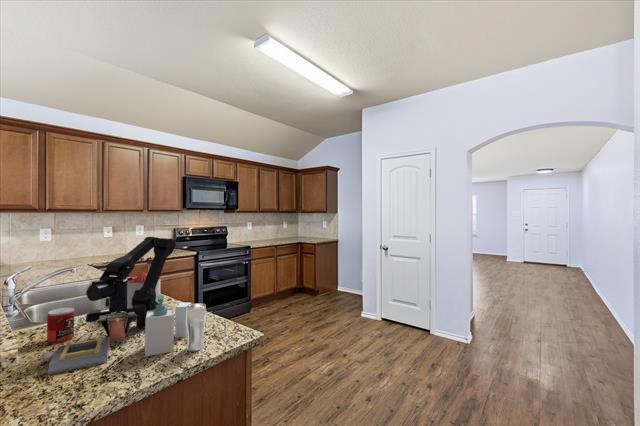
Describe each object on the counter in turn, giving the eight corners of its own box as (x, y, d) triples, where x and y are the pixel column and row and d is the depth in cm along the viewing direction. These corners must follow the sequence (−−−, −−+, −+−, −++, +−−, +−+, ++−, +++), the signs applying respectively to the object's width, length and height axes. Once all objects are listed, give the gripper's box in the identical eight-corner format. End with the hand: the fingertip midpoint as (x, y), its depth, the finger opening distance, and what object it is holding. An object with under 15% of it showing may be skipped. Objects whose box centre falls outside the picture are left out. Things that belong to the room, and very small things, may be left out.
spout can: (125, 335, 115) (125, 313, 115) (124, 339, 111) (125, 317, 111) (109, 338, 112) (110, 315, 113) (108, 342, 108) (109, 319, 108)
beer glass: (209, 345, 107) (210, 304, 108) (196, 353, 101) (196, 309, 101) (194, 342, 110) (195, 302, 110) (180, 350, 103) (181, 307, 103)
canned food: (58, 345, 106) (58, 314, 106) (40, 342, 107) (41, 312, 108) (79, 336, 113) (80, 308, 113) (62, 334, 115) (63, 306, 115)
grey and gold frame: (109, 346, 106) (110, 334, 106) (107, 362, 94) (107, 349, 94) (46, 357, 96) (46, 345, 96) (34, 377, 85) (35, 363, 85)
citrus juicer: (115, 313, 140) (116, 272, 141) (155, 306, 152) (156, 268, 152) (121, 322, 129) (122, 277, 129) (164, 314, 141) (165, 272, 141)
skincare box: (180, 331, 120) (181, 302, 120) (191, 331, 120) (191, 302, 120) (174, 337, 114) (175, 306, 114) (185, 337, 114) (186, 306, 114)
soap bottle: (144, 357, 98) (145, 300, 98) (146, 346, 105) (147, 293, 106) (173, 352, 102) (174, 297, 102) (172, 342, 109) (174, 291, 110)
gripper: (145, 286, 124) (144, 323, 124) (90, 292, 114) (89, 332, 113) (146, 292, 114) (145, 332, 114) (86, 299, 104) (85, 343, 104)
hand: (117, 334), depth 112 cm, fingers closed on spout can, 5 cm apart
